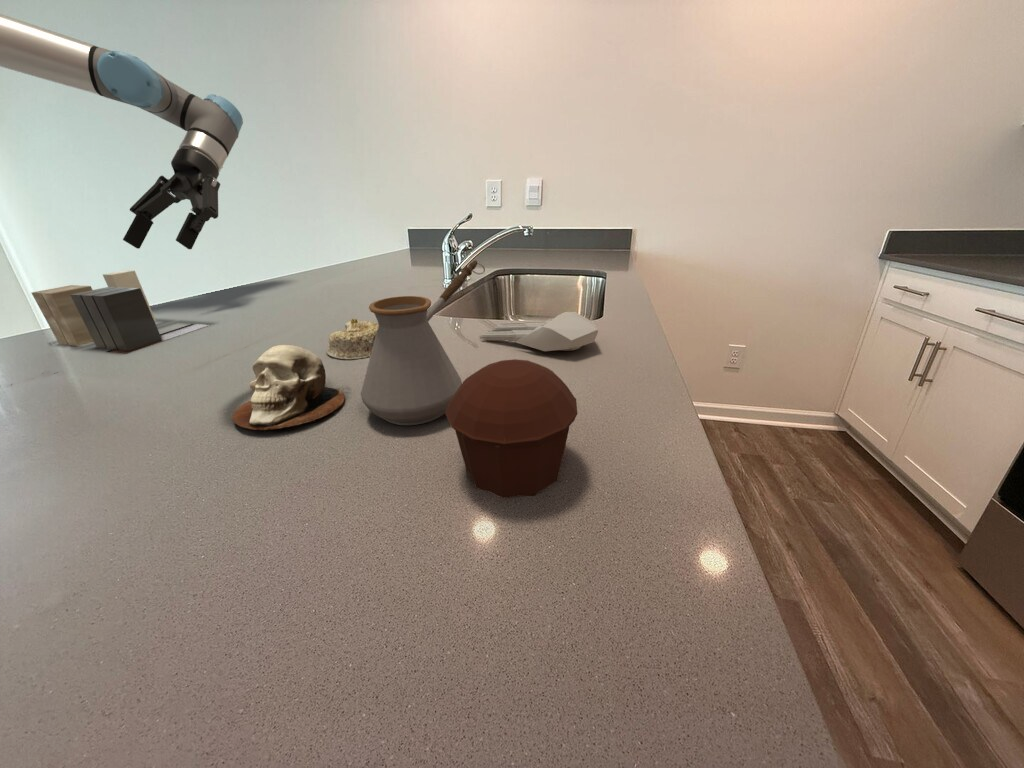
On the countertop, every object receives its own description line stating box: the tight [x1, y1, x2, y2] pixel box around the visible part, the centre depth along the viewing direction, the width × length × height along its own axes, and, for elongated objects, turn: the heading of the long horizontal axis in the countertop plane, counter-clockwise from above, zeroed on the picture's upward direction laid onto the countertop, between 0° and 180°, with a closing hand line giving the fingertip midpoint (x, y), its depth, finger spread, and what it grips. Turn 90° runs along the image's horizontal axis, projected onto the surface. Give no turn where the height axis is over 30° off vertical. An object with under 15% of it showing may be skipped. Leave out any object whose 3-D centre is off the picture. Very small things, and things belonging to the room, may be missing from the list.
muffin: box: [444, 358, 578, 499], centre depth 36 cm, size 12×11×10 cm
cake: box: [325, 318, 379, 360], centre depth 66 cm, size 10×10×5 cm
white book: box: [102, 269, 157, 323], centre depth 77 cm, size 2×4×10 cm, turn 165°
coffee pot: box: [360, 259, 486, 426], centre depth 49 cm, size 21×12×15 cm, turn 151°
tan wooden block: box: [31, 284, 94, 347], centre depth 73 cm, size 8×15×10 cm, turn 165°
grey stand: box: [71, 286, 211, 355], centre depth 70 cm, size 8×15×10 cm, turn 166°
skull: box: [231, 344, 346, 431], centre depth 49 cm, size 12×10×10 cm
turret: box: [478, 311, 599, 352], centre depth 67 cm, size 10×20×5 cm, turn 61°
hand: (156, 244), depth 80 cm, fingers open, 13 cm apart
